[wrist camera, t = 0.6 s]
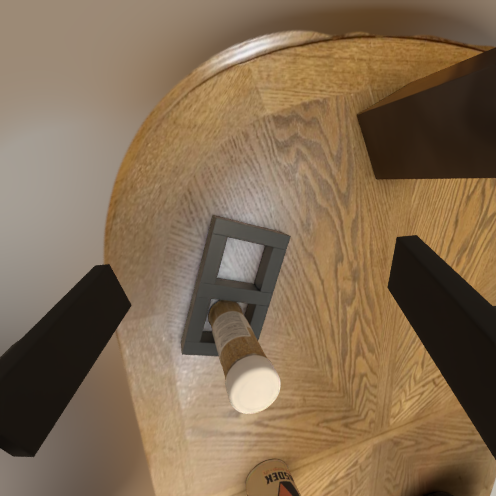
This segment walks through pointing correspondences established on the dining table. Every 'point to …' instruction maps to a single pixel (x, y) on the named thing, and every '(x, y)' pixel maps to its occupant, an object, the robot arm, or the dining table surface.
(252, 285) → the bottle rack
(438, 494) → the bowl
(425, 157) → the riser
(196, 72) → the dining table surface
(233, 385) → the sprinkles bottle
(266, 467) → the coffee cup
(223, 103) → the dining table surface
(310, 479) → the dining table surface
